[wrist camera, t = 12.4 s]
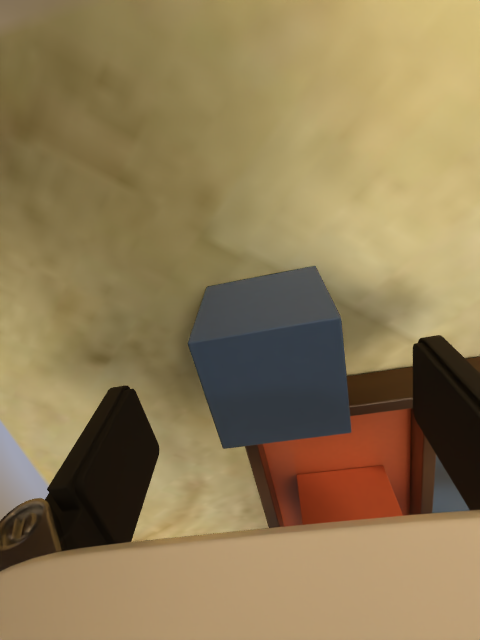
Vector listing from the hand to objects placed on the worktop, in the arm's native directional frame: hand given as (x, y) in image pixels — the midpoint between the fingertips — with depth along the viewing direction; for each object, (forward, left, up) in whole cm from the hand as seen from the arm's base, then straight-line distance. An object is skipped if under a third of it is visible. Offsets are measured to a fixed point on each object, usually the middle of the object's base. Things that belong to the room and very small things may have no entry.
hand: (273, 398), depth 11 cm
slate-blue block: (-1, 0, -4) cm, 4 cm away
